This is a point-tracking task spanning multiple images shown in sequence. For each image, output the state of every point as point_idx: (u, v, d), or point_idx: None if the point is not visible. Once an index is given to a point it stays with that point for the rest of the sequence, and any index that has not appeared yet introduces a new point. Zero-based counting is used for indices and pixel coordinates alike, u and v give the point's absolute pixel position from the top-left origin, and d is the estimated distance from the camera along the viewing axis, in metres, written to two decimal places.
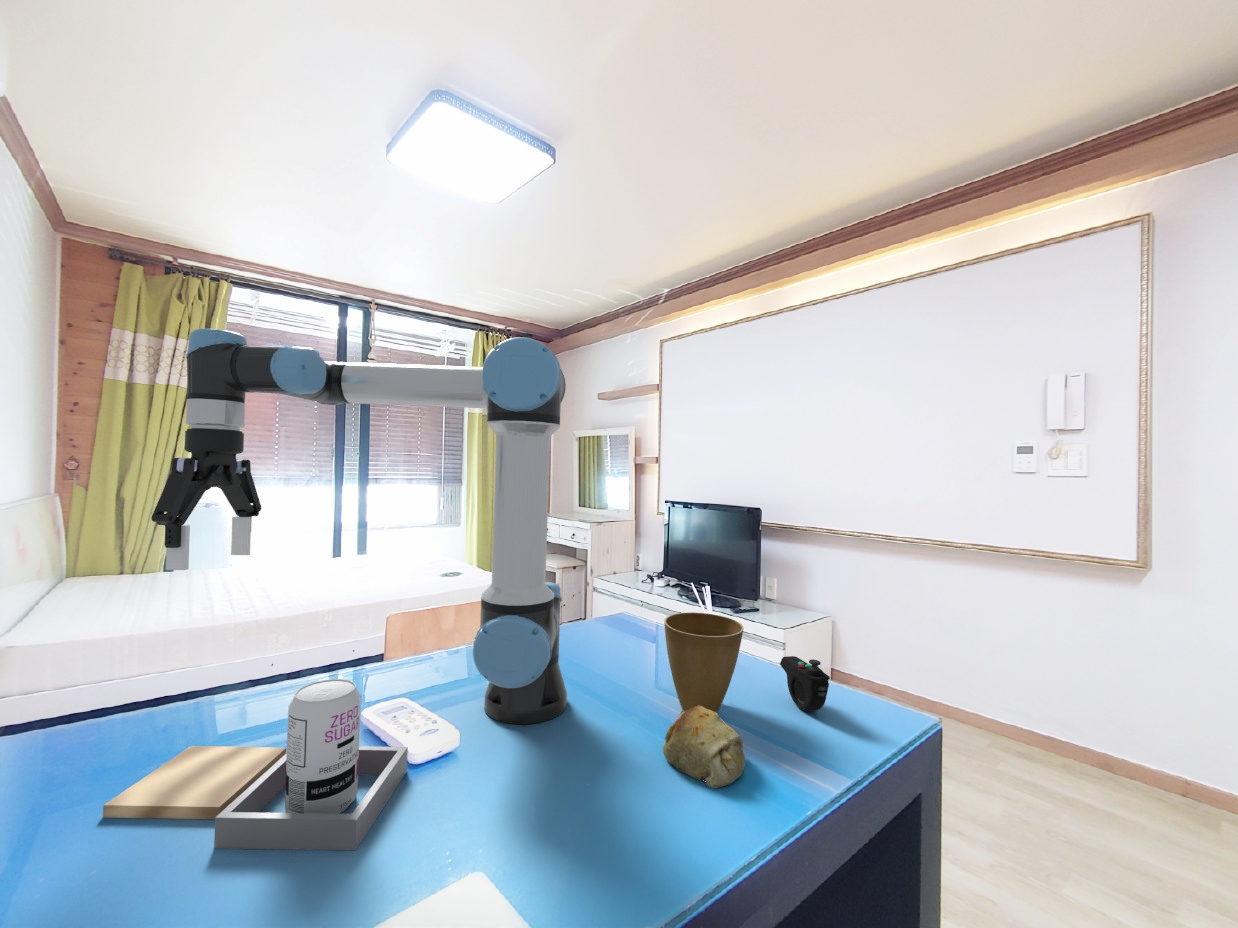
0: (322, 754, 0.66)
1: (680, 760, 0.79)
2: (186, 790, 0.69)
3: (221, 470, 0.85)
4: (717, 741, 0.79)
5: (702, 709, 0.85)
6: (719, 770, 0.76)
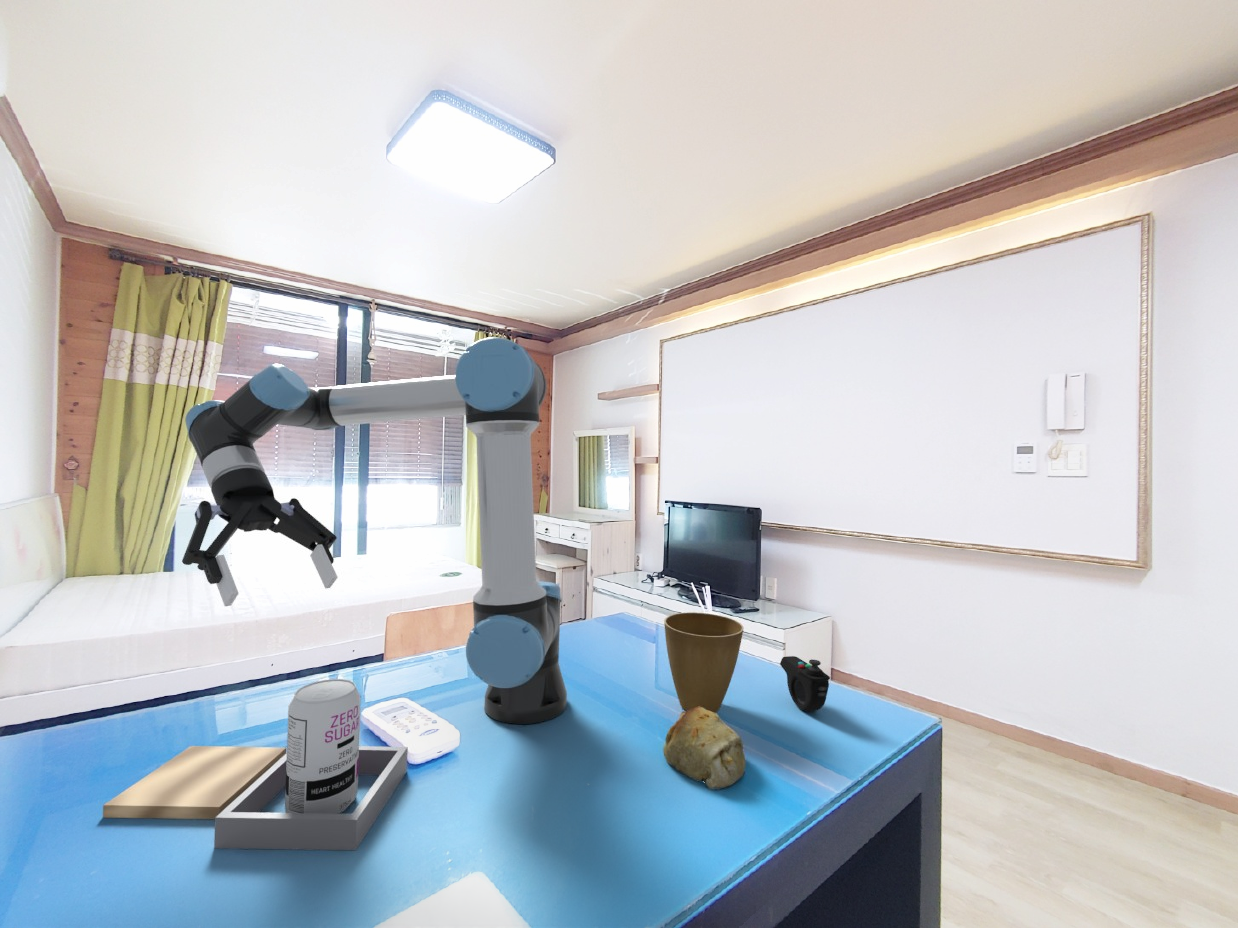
0: (322, 754, 0.66)
1: (680, 761, 0.79)
2: (186, 790, 0.69)
3: (249, 505, 0.81)
4: (718, 743, 0.79)
5: (702, 710, 0.85)
6: (720, 772, 0.76)
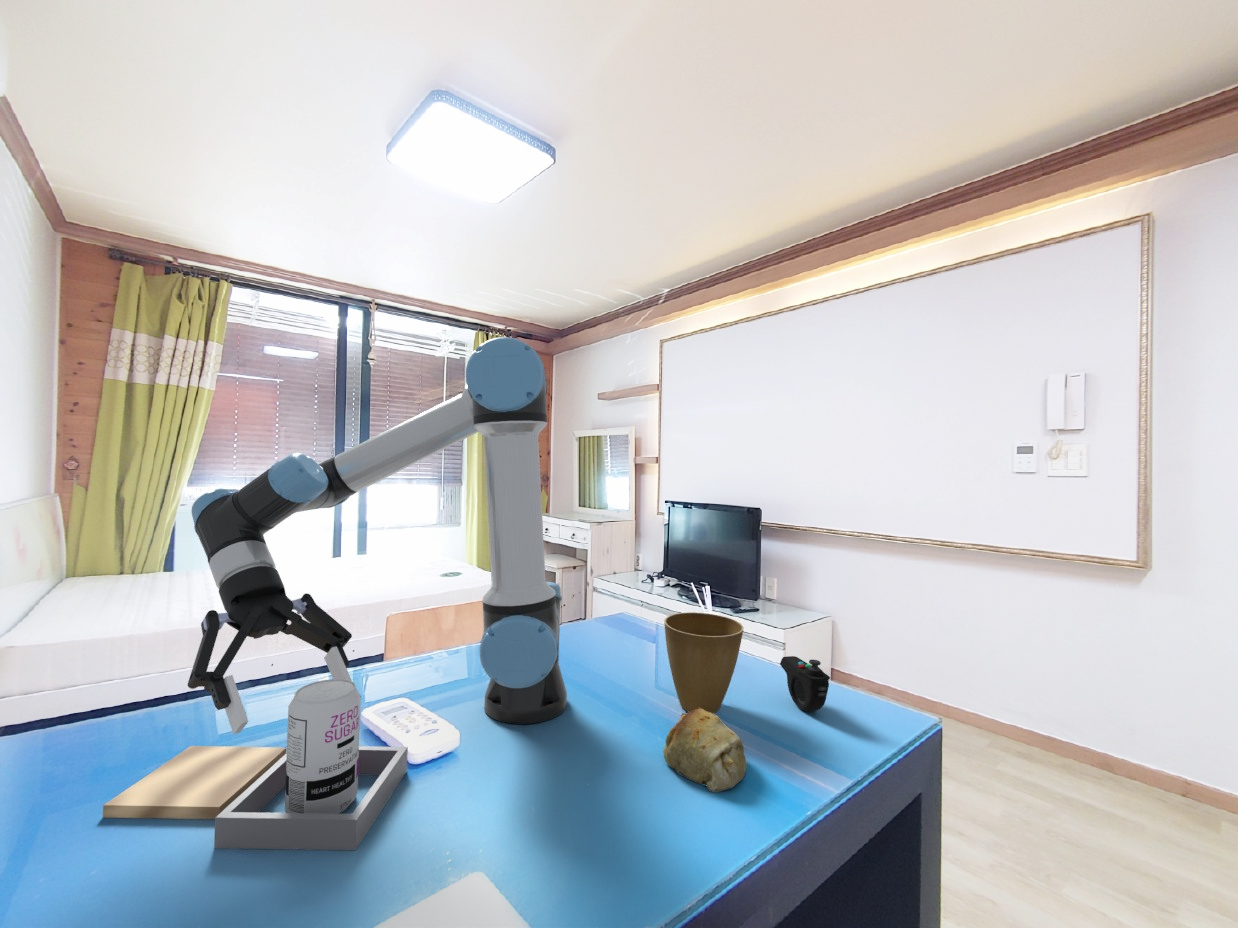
0: (322, 754, 0.66)
1: (681, 764, 0.78)
2: (186, 790, 0.69)
3: (259, 610, 0.75)
4: (719, 745, 0.78)
5: (703, 712, 0.84)
6: (721, 774, 0.75)
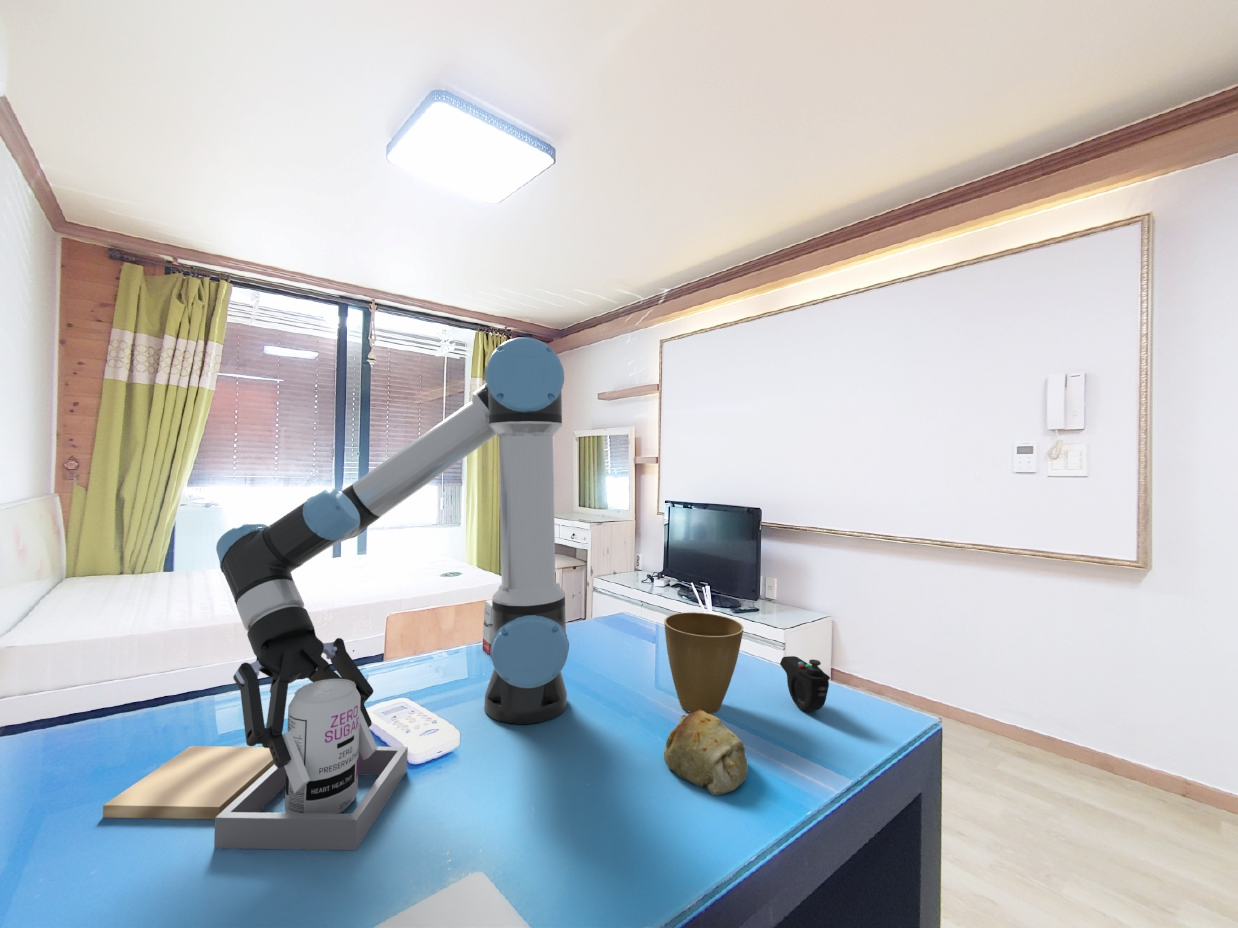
0: (322, 754, 0.66)
1: (681, 766, 0.78)
2: (186, 790, 0.69)
3: (290, 654, 0.72)
4: (720, 747, 0.77)
5: (703, 714, 0.83)
6: (722, 777, 0.74)
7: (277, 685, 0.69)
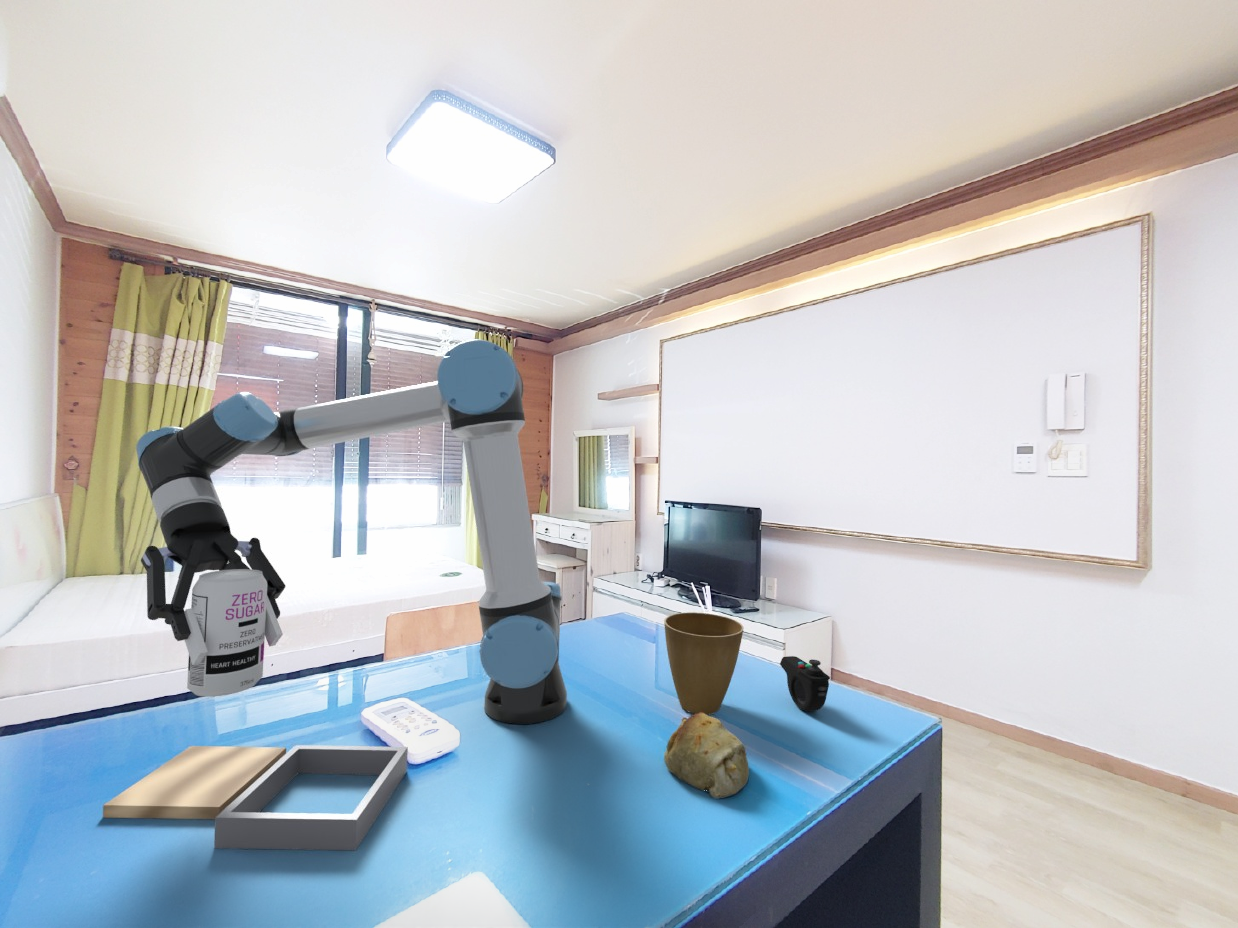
0: (222, 630, 0.69)
1: (683, 770, 0.77)
2: (186, 790, 0.69)
3: (200, 543, 0.75)
4: (721, 750, 0.76)
5: (704, 716, 0.83)
6: (724, 780, 0.74)
7: (184, 569, 0.72)
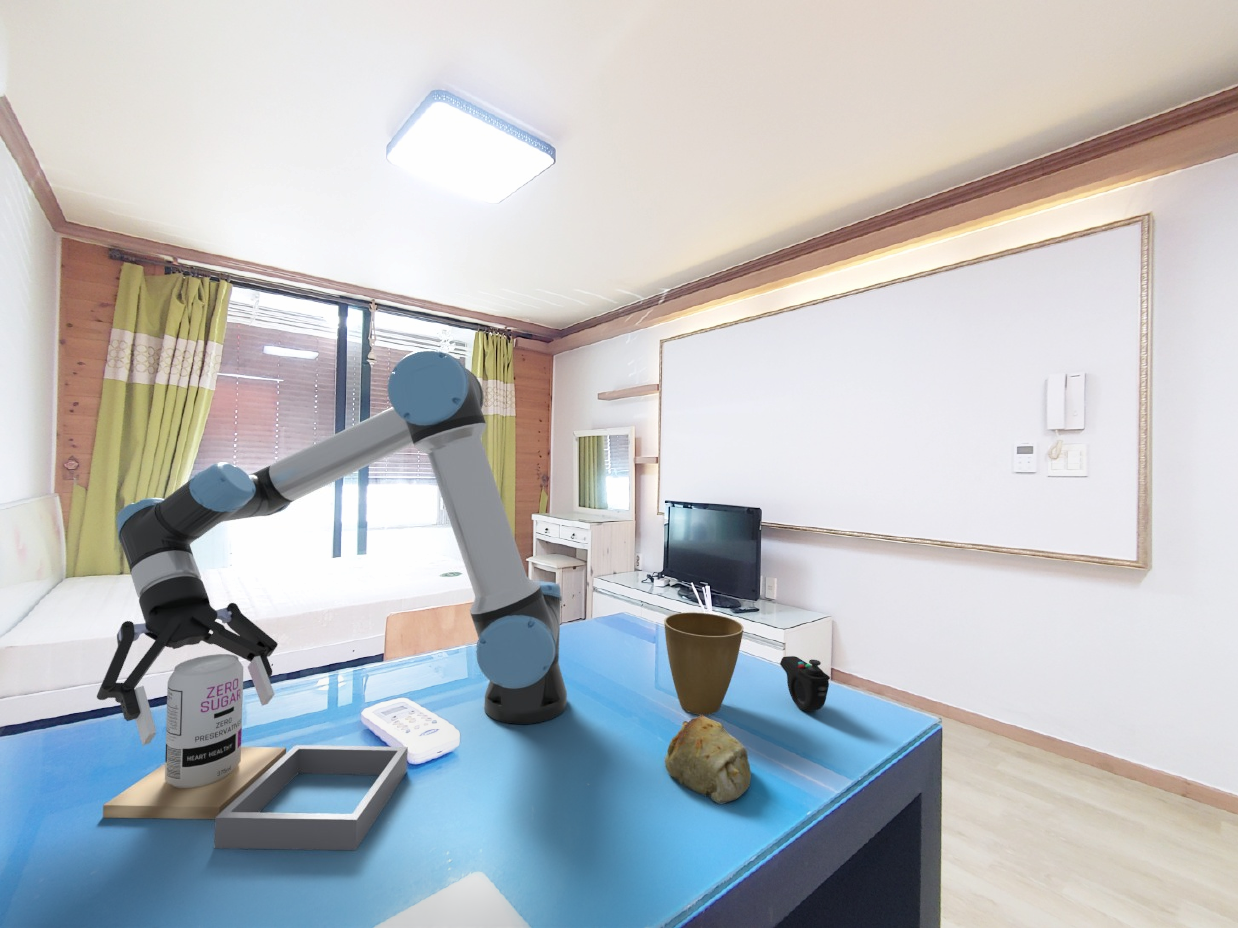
0: (197, 723, 0.70)
1: (684, 774, 0.76)
2: (186, 790, 0.69)
3: (178, 620, 0.76)
4: (723, 754, 0.75)
5: (705, 719, 0.82)
6: (726, 785, 0.73)
7: (152, 645, 0.72)
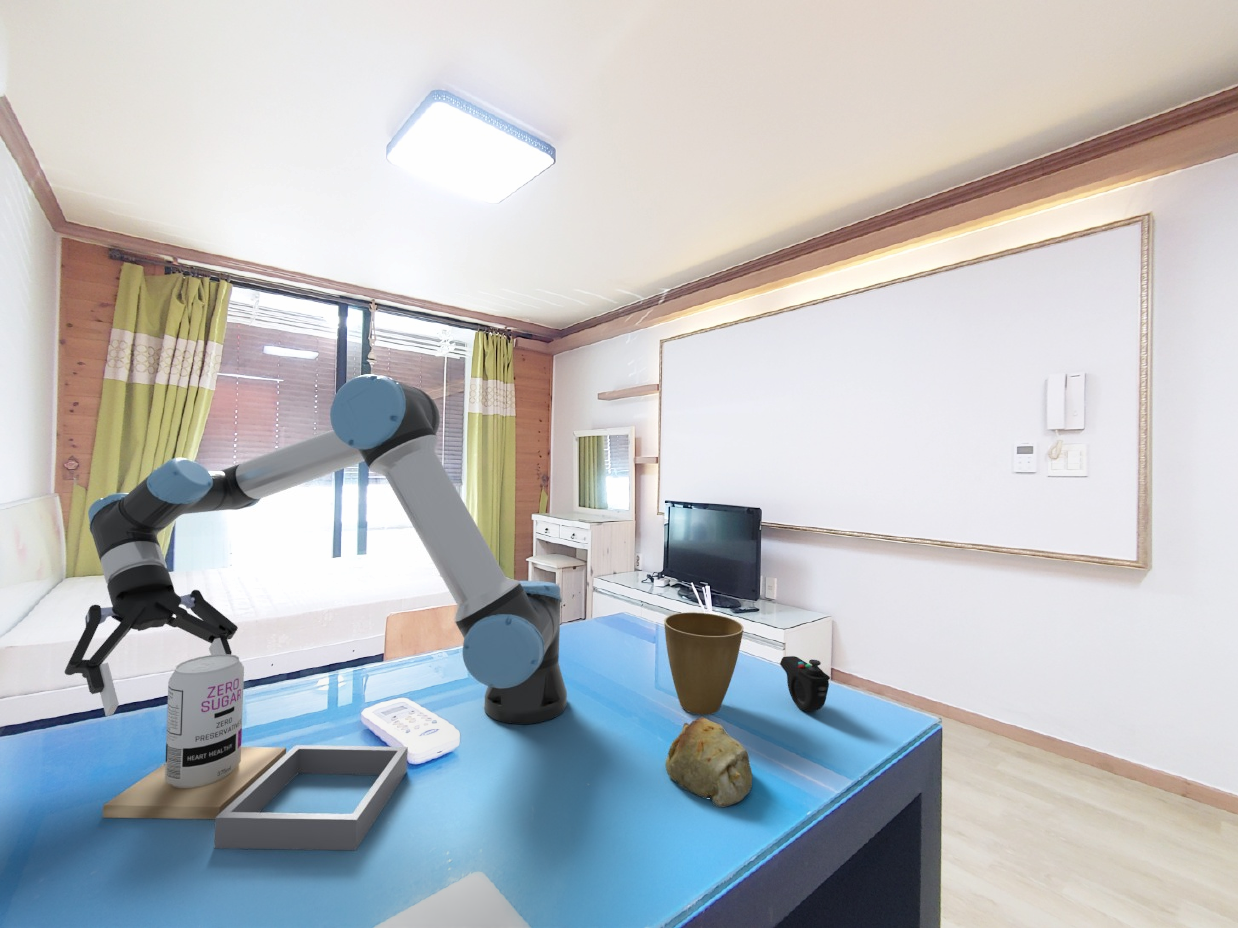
0: (198, 723, 0.70)
1: (685, 777, 0.75)
2: (186, 790, 0.69)
3: (143, 605, 0.83)
4: (724, 757, 0.75)
5: (706, 722, 0.81)
6: (728, 788, 0.72)
7: (117, 627, 0.79)
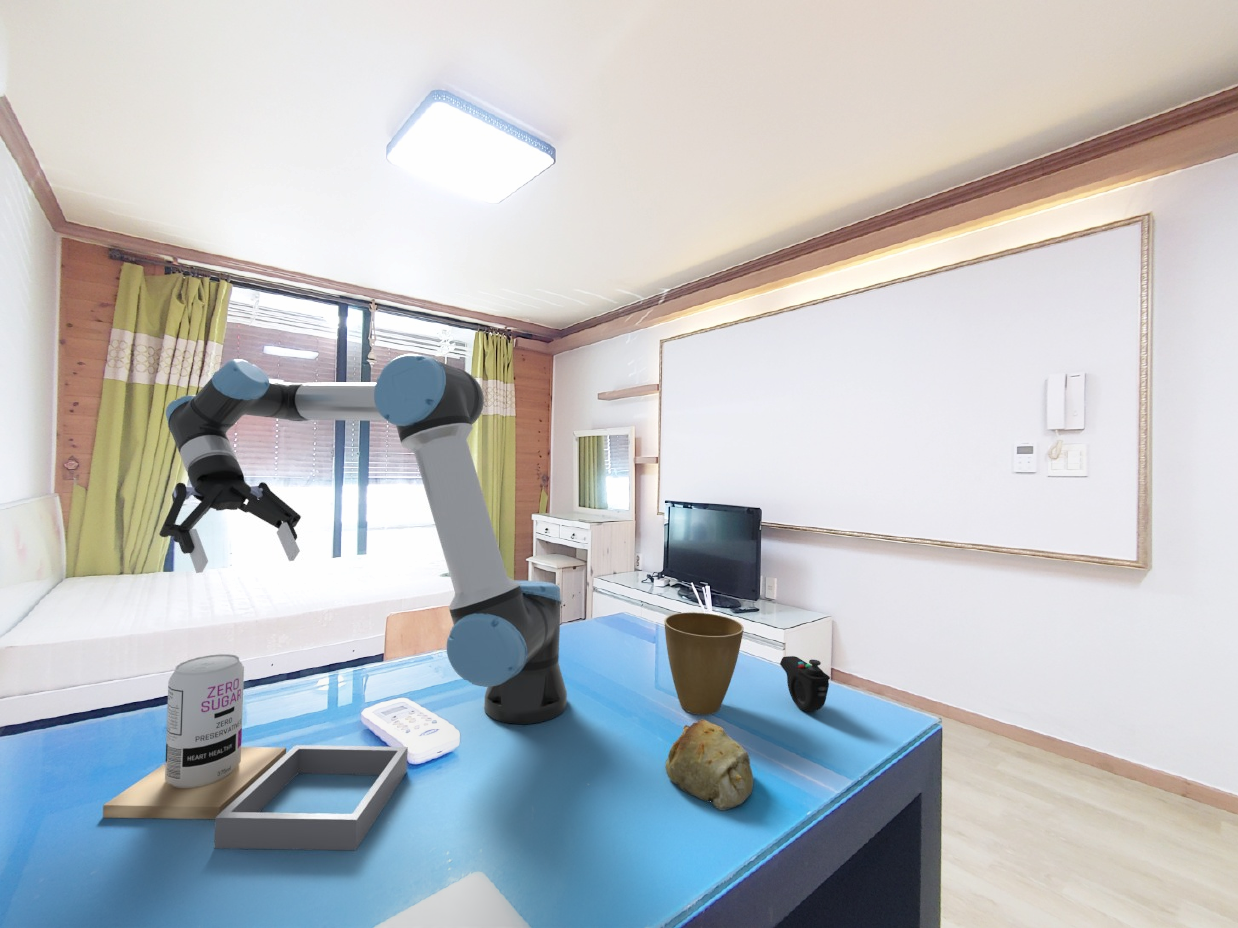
0: (198, 723, 0.70)
1: (685, 780, 0.74)
2: (186, 790, 0.69)
3: (220, 487, 0.92)
4: (725, 759, 0.74)
5: (706, 724, 0.80)
6: (729, 791, 0.71)
7: (200, 503, 0.88)
